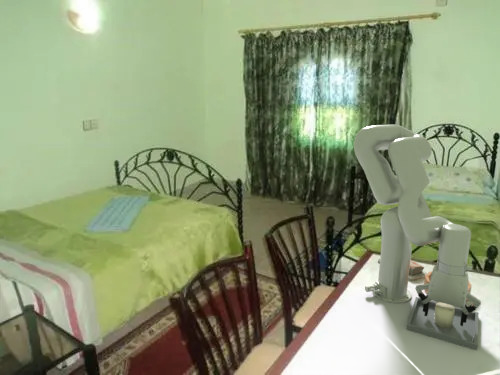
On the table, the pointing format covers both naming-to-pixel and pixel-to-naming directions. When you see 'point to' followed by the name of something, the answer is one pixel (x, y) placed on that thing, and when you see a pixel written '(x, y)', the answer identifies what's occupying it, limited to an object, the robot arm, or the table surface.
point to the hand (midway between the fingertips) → (443, 318)
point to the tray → (455, 334)
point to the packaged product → (415, 271)
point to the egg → (444, 315)
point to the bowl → (427, 280)
